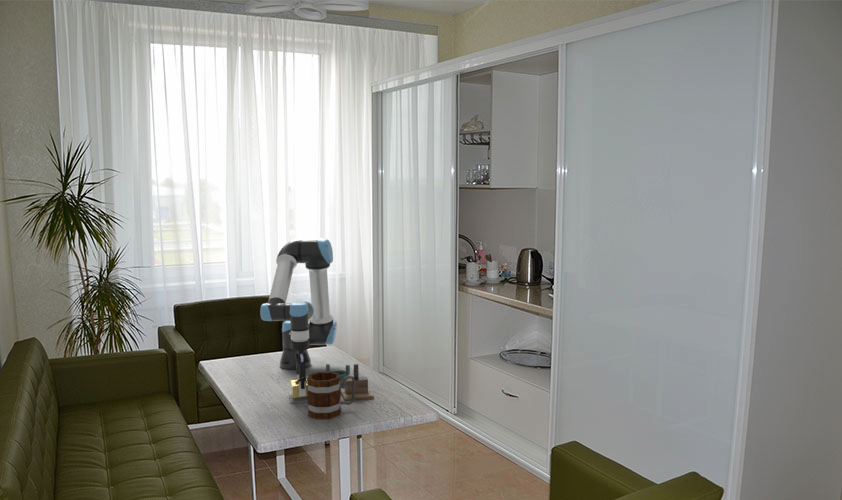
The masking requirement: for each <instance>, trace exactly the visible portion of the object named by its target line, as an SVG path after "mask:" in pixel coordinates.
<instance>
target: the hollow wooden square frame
mask: <svg viewBox="0 0 842 500" xmlns="http://www.w3.org/2000/svg"><path fill="white" fill-rule="evenodd" d="M290 392H291V395H292V397H293V398H297V397H299V382H298V380H297V379H293V380H290ZM307 396H308V383H307V378H306V396H300V397H307Z"/></svg>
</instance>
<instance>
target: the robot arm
mask: <svg viewBox="0 0 842 500" xmlns="http://www.w3.org/2000/svg"><path fill="white" fill-rule="evenodd" d="M275 261H276V262H275V263H276V265H277V266H276V269H275V273H274V277H273V280H272V281H273V282H272V285H271V289H270V293H269V297H268V301H267V302H265V303H262V304H261V305H260V311H259V313H260V314H259V315H260V319H261V320H262V321H263V322H265V321H266V322H279V321H282V325H281V326H282V328H281V333H282V334H281V335H282V353H281V356H280V360H279V367H280V368H281V369H285V370H295V371H296V380H298V382H299V397H300V396H306V379H307V377H306V375H307V373H306V371H307V370H306V368H308V367H310V366H311V365H312V362H311V361H312V360H311V357H310V353H309V351H308V349H310V346H313V345H314V346H315V345H316V346H317V345H318V346H325V345H327V346H328V345H333V344H334V343H335V341H336V336H337V329H338V321H337V320H334V316H333V315H332V314H330V313H331V311H330V309H331V308H330V297H329V295H330V294H329V281H328V270H329V268H330V267H331V264H332V263H333V261H334V253H333V246H332V244H331V242H330V240H329V239H328V238H320V237H317V238H295V239H292V240H290V241H288V242H287V243H286V244H285V245H283V246H282V248H281V249H280V250H279V252H278V254H277V256H276V260H275ZM298 264H304V265H305V269H307V271H308V273H309V289H310V302H309V301H296V302H292V303H288V302H287V298H288V295H289V289H290V287H291V282H292V277H293V273H294V269H295V268H296V267H297V265H298Z"/></svg>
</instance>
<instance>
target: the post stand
mask: <svg viewBox="0 0 842 500" xmlns="http://www.w3.org/2000/svg"><path fill="white" fill-rule="evenodd" d="M359 375H360V373H359V363H356V364H355V363H354V364H353V377H354V379H355V382H356V384H355V399H354V401H355V402H356V401H363V400H373V399H374V398H375V395H374V394H373V393H372V390H371V389H370V388H369V380H368V378H367V376H359ZM352 384H353V381H352V378H349V379H347V380H346V382H345V386H344V387H343V388H342V387H340V390H341V395H342V397H343V401H346V402H349V401H351V398H352Z"/></svg>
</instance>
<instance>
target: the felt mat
mask: <svg viewBox="0 0 842 500" xmlns="http://www.w3.org/2000/svg"><path fill="white" fill-rule="evenodd" d="M288 398H289V403H290V405H293V404H301V403H303V404H304V403H308V396H307V397H297V398H293V397H292V394H288Z"/></svg>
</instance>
